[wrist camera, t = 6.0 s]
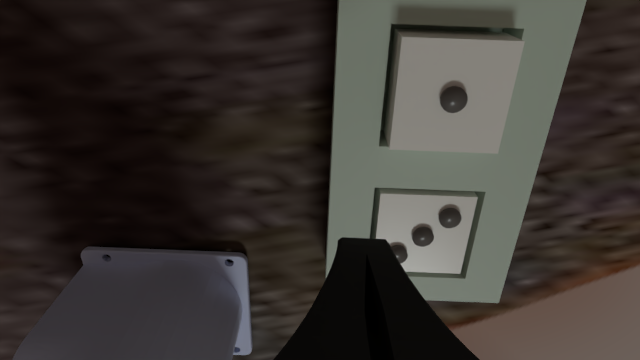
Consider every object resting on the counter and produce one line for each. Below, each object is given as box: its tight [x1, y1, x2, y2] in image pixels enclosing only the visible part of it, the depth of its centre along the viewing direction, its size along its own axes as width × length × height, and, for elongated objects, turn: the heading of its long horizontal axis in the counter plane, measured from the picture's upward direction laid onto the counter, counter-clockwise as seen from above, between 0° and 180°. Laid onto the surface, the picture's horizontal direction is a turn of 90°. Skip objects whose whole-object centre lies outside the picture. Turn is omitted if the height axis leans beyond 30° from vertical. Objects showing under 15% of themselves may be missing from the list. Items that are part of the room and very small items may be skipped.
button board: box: [325, 0, 586, 303], centre depth 19 cm, size 9×22×3 cm, turn 178°
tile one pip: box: [384, 29, 525, 154], centre depth 17 cm, size 4×4×2 cm
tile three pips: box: [370, 188, 478, 274], centre depth 21 cm, size 4×4×2 cm
